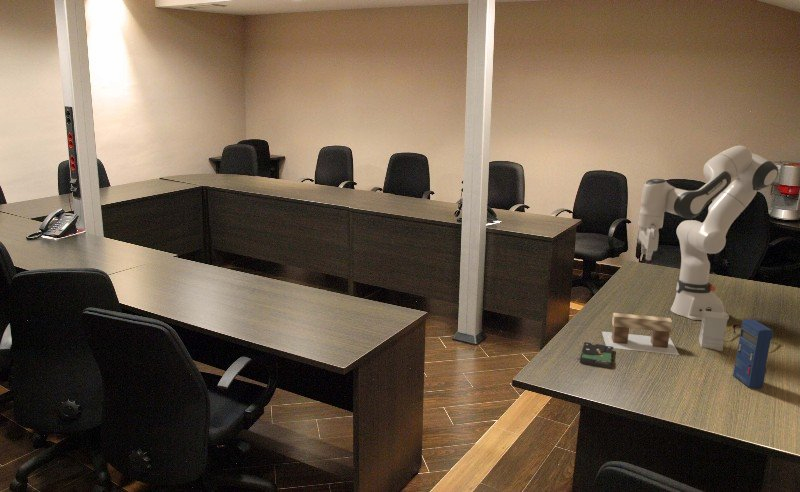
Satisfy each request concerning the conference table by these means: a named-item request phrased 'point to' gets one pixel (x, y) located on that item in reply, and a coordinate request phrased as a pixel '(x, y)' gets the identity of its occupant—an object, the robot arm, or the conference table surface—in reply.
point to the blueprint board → (639, 344)
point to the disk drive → (596, 355)
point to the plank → (642, 322)
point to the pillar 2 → (660, 339)
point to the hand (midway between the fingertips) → (645, 256)
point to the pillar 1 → (620, 335)
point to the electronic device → (752, 353)
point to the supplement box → (713, 330)
